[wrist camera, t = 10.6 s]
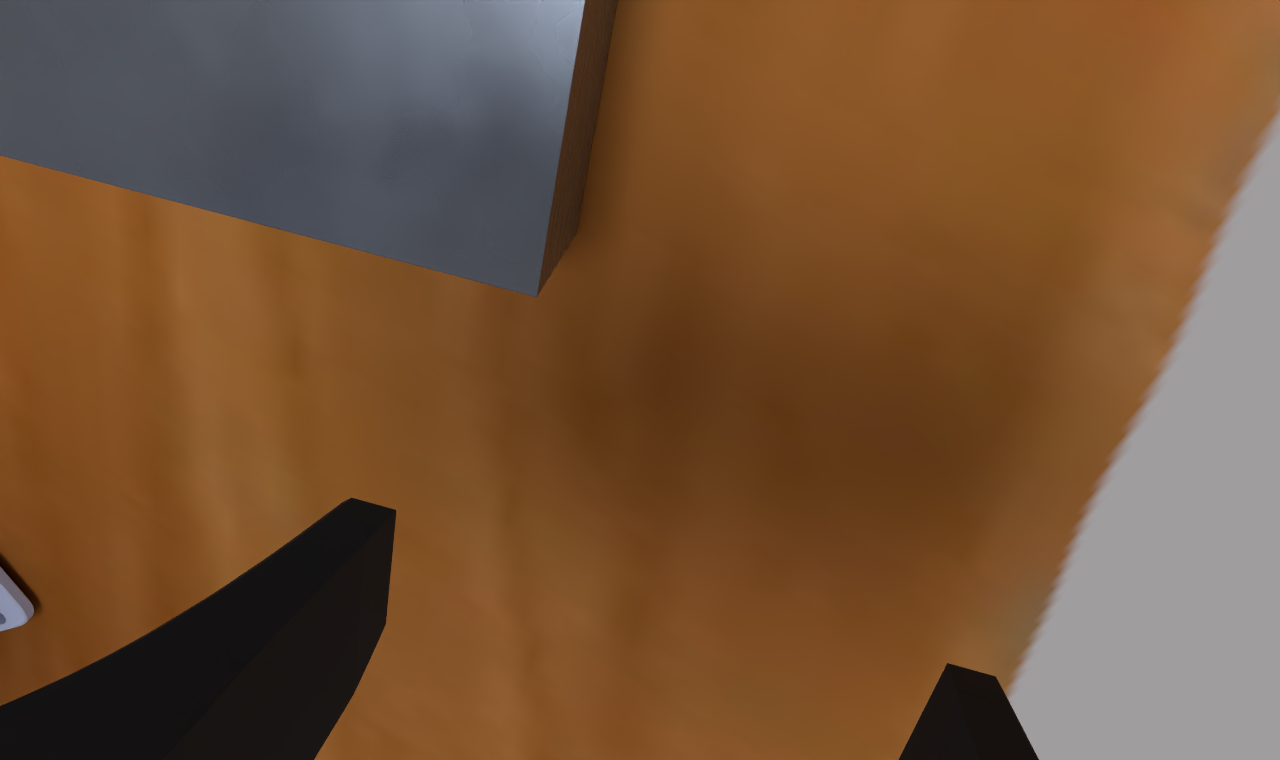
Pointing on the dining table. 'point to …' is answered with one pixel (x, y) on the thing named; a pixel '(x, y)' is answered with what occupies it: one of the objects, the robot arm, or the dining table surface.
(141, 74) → the bore block
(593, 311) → the dining table surface
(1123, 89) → the dining table surface
